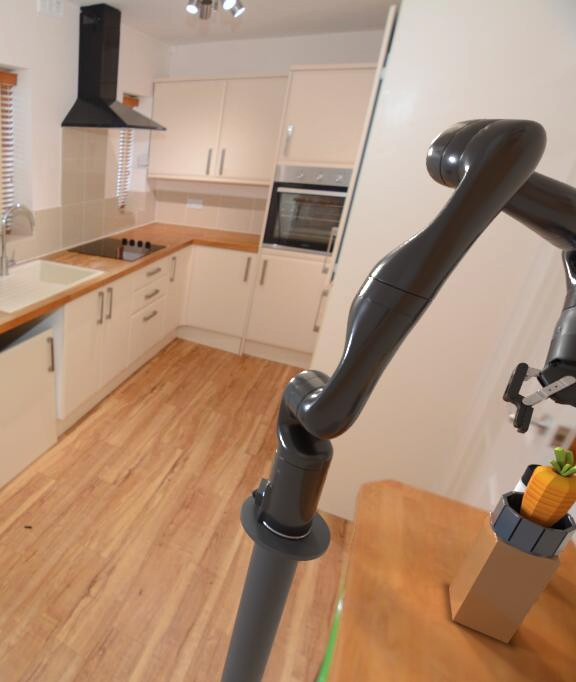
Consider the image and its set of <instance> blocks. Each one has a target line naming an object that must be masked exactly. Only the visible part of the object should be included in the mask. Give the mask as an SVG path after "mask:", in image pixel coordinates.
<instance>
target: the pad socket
mask: <svg viewBox="0 0 576 682" xmlns="http://www.w3.org/2000/svg"><path fill="white" fill-rule="evenodd" d="M523 496H524V492H517V491H514V490H510V491H507V492H506V493H503V494H502V495H501V496H500V499H499V500H498V501H497V504H496V506H495V508H494V510H493V511H489V512H488V514H487V516H486V518H485V520H484V521H483V524H482V525H481V527H480V529H479V531H478V533H477V534H476V536H475V538H474V540H473V542H472V544H471V546H470V548H469V550H468V552H467V553H466V555H465V557H464V559H463V561H462V563H461V565H460V567H459V568H458V570H457V572H456V574H455V576H454V578H453V579H452V581H451V583H450V585H449V587H448V593H449V602H450V610H451V619H452V621H453V622H455V623H458V624H461V625H462V626H465V627H467V628H470V629H472V630H474V631H476V632H478V633H481V634H484V635H486V636H488V637H491V638H494V639H495V640H497V641H500V642H502V643H504V644H509V642H510V641H511V639H512V638H513V636H514V635H515V634H516V632H517V630H518V629H519V627H520V626H521V625H522V623H523V621H524V620H525V619H526V617H527V616H528V615H529V613H530V611H531V609H532V608H533V607H534V605H535V603H536V602H537V601H538V599H539V597H540V596H541V594H542V593H543V592H544V590H545V589H546V587H547V586H548V584H549V582H550V581H551V580H552V578H553V577H554V575H555V574H556V572H557V571H558V569H559V568H560V566H561V565H562V561H561V559H560V557H559V555H560V553H562V552H563V551H564V550H565V548H566V547H567V545H568V544H569V542H570V540H571V539H572V537H573V536H574V534H575V533H576V520H575V519H574V517H573V516H572V515H571V514H570V513H568V512H567V513H566V514H565V515H564V516H563V517H562V518H561V519H560V520H559V521H557V522H556V523H555V524H554V525H552V526H551V527H549V528H546V527H543V526H541V525H538V524H536V523H534V522H532V521H530V520H527V519H525V518H523V517H522V516H521V515H520V511H521V505H522V500H523Z"/></svg>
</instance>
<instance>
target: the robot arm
mask: <svg viewBox="0 0 576 682" xmlns="http://www.w3.org/2000/svg"><path fill="white" fill-rule="evenodd" d="M547 142H548V135H547V130H546V129H545V127H544V125H543V124H542V123H540V122H538V121H535V120H532V119H526V118H525V119H524V118H523V119H522V118H477V119H476V118H474V119H467V120H463V121H459V122H456V123H453V124H452V125H449V126H448V127H446V128H445V129H443V130H442V131H441V132H440V133H439V134H438V135H437V136H436V137H435V138H434V139H433V140H432V142H431V144H430V146H429V148H428V150H427V153H426V157H425V167H426V171H427V173H428V175H429V177H430V178H431V180H432V181H434V182H435V183H437V184H439V185H441V186H443V187H446V188H448V189H454V191H453V192H452V193H451V196H450V197H449V198H448V200H447V201H446V202H445V204H444V205H443V207H442V209H440V211H439V212H438V213H437V214H436V216H435V217H434V218H433V219H432V220H431V221H430V222H429V223H428V224H427V225H426V226H425V227H423V228H422V229H421V230H420V231H418V232H416V234H414V235H412V236H411V237H410V238H408V239H406V240H405V241H403V242H402V243H401V244H399V245H398V246H396V247H395V248H394V249H392V250H391V251H389V252H388V253H387V254H386V255H384V256H383V257H382V258H381V259H380V260H378V261H377V262H376V264H375V265H373V267H372V269H371V270H370V272H369V273H368V275H367V276H366V278H365V280H364V281H363V282H362V284H361V286H360V287H359V289H358V291H357V292H356V294H355V295H354V297H353V299H352V302H351V304H350V306H349V309H348V315H347V321H346V329H345V330H346V331H345V339H344V346H343V350H342V354H341V358H340V360H339V362H338V364H337V367H336V368H335V370H334V372H333V373H332V375H331V376H330V375H328V374H327V373H325V372H323V371H321V370H317V369H307V370H303V371H301V372H298V373H297V374H294V376H292V378H291V379H290V380H289V381H288V382H287V384H286V385H285V387H284V389H283V391H282V394H281V399H280V403H279V407H278V408H279V409H278V413H277V419H276V424H275V425H276V426H275V435H276V440H277V441H276V446H275V450H274V454H273V459H272V463H271V468H270V471H269V476H268V479H267V478H264V477H261V479H260V482H259V484H258V487H257V488H255V489H254V490H252V491H251V495H252V496H253V498H254V499H255V501H254V503H255V504H257V505H260V506H261V508H260V512H259V516H258V520H257V522H259V523H261V524H263V525H264V526H265V527H266V528H267V529H268V530H269V531H270V532H271V533H273V534H275V535H276V536H278V537H281V538H284V539H287V540H302V539H304V538H306V537H307V536H308V535H309V533H310V530H311V526H312V522H313V519H314V516H315V513H316V511H317V509H318V505H319V502H320V499H321V496H322V493H323V490H324V487H325V484H326V481H327V477H328V474H329V471H330V467H331V464H332V461H333V458H334V452H335V451H334V446H333V444H332V443H333V442H332V440H334V439H337V438H339V437H340V436H342V435H343V434H345V433H347V431H349V429H351V428H352V427H353V426H354V424H355V423H356V421H357V420H358V418H359V417H360V416H361V413H362V412H363V410H364V408H365V407H366V405H367V403H368V401H369V399H370V398H371V396H372V394H373V392H374V390H375V388H376V386H377V384H378V383H379V381H380V379H381V378H382V376H383V374H384V373H385V371H386V369H387V368H388V366H389V365H390V363H391V362H392V360H393V359H394V357H395V356H396V354H397V352H398V351H399V350H400V348H401V346H402V345H403V344H404V342H405V341H406V339H407V338H408V337H409V335H410V334H411V332H412V331H413V330H414V328H415V327H416V326H417V325H418V323H419V322H420V321H421V319H422V318H423V317H424V315H425V314H426V312H427V311H428V309H429V308H430V306H431V305H432V304H433V302H434V301H435V299H436V298H437V296H439V293H440V291H441V290H442V288H443V287H444V285H445V284H446V283H447V281H448V280H449V278H450V277H451V276H452V274H453V273H454V272H455V270H456V269H457V267H458V266H459V265H460V264H461V262H462V261H463V259H464V258H465V256H467V254H468V253H469V251H470V250H471V248H472V247H473V246H474V245H475V243H476V242H477V241H478V239H479V238H480V237H481V236H482V234H483V233H485V231H486V230H487V229H488V228H489V226H490V225H491V224H492V223H493V222H494V220H495V219H496V218H497V217H498V216H499V214H501V212H502V213H504V214H505V215H507V216H509V217H510V218H512V219H513V220H515V221H516V222H518V223H519V224H521V225H523V226H524V227H525V228H527V229H529V230H530V231H532V232H533V233H534V234H536V235H537V236H538V237H540V238H542V239H543V240H544V241H546V242H547V243H549V244H550V245H552V246H554V248H557V249H559V250H561V253H560V257H561V263H562V268H563V271H564V279H565V291H566V292H565V298H564V301H563V304H562V308H561V312H560V315H559V318H558V319H557V321H556V323H555V325H554V329H553V332H552V336H551V339H550V343H549V347H548V351H547V355H546V358H545V362H544V365H543V368H541V369H539V368H534V367H531V366H529V365H528V363H526V362H519V363H518V364H517V365H516V366H515V367H513V370H512V372H511V374H510V377H509V379H508V382H507V385H506V386H505V389H504V393H503V395H502V400H503V401H504V402H506V403H509V404H510V403H511V404H512V405H514V406H515V407H516V412H515V415H514V418H513V422H512V425H513V428H514V429H517V430H516V432H517V433H519V434H523V435H524V434H526V433H527V432H528V431H529V428H530V425H531V421H532V417H533V413H534V410H535V407H534V406H535V405H538V404H540V403H542V402H544V401H547V400H548V399H550V400H552V401H553V402H554V403H555V404H558V405H563V406H564V405H565V406H571V407H573V408H575V409H576V187H575V186H573V185H571V184H568V183H566V182H564V181H561V180H558V179H556V178H553V177H550V176H548V175H546V174H543V173H540V172H538V171H536V169H537V168H538V166H539V164H540V163H541V161H542V158H543V156H544V154H545V151H546V148H547ZM532 378H536V380H537V382H538V383H539V385H540V386H541V388H540V389H538V390H537V391H536V392H533V393H532V394H530V395H528V396H527V395H526V396H524V395H522V394H520V391H521V388H522V386H523V384H524V382H527V381H530V380H531V379H532Z"/></svg>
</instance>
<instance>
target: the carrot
mask: <svg viewBox="0 0 576 682" xmlns="http://www.w3.org/2000/svg"><path fill="white" fill-rule="evenodd" d="M553 452H554V456H555V460H554V459H549V461H548V462H549V463H550V465H542V466H538V467H537V468H536V469H535V471H534V473H533V475H532V477H531V479H530V481H529V483H528V485H527V487H526V489H525V492H524V496H523V500H522V505H521V511H520V515H521V516H522V517H523V518H525V519H527V520H530V521H532V522H534V523H536V524H538V525H541V526H543V527H546V528H549V527H551V526H552V525H554V524H555V523H556V522H557V521H559V520H560V519H561V518H562V517H563V516H564V515H565V514H566V513H568V512H569V511H570V510H571V508H572V507H573V506H574V505H575V503H576V465H575V466H573V465H574V463H575V461H574V453H573V451H571V450H565V448H564V447H561V446H557V447H554V451H553Z"/></svg>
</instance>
